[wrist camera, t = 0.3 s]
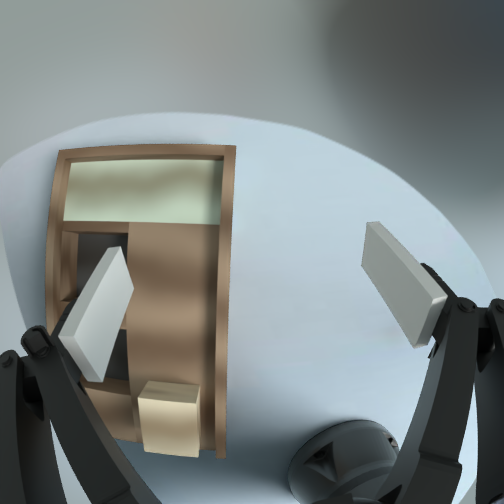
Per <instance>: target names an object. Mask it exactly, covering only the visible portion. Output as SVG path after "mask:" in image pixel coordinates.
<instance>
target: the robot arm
mask: <svg viewBox="0 0 504 504" xmlns="http://www.w3.org/2000/svg"><path fill="white" fill-rule="evenodd" d="M361 266H362V267H363V269H364V270H365V272H366V273H367V275H368V276H369V278H370V279H371V281H372V282H373V284H374V285H375V287H376V288H377V290H378V292H379V293H380V295H381V296H382V298H383V299H384V301H385V302H386V304H387V306H388V307H389V309H390V310H391V312H392V314H393V315H394V317H395V318H396V320H397V322H398V323H399V325H400V327H401V328H402V330H403V332H404V333H405V335H406V337H407V338H408V340H409V342H410V343H411V345H412V347H413V348H414V349H415V348H418V347H422V346H425V345H428V343H429V340H430V338H431V336H433V337H434V339H435V340H436V342H435V344H434V346H433V348H432V350H431V352H430V354H429V356H428V358H430V357H431V358H430V362H429V366H428V370H427V374H426V377H425V381H424V384H423V388H422V391H421V394H420V397H419V401H418V404H417V407H416V410H415V413H414V416H413V418H412V421H411V424H410V427H409V429H408V432H407V435H406V437H405V440H404V442H403V445H402V447H401V449H400V451H399V447H398V444H397V442H396V440H395V438H394V437H393V435H392V434H391V433H390V432H389V431H388V430H387V429H386V428H385V427H383V426H382V425H380V424H378V423H376V422H372V421H365V420H359V421H351V422H346V423H342V424H339V425H336V426H334V427H331V428H329V429H327V430H325V431H323V432H321V433H320V434H318V435H316V436H315V437H313V438H312V439H311V440H309V441H308V442H307V443H306V444H305V445H304V446H303V447H302V448H301V449H300V450H299V451H298V452H297V453H296V455H295V456H294V458H293V459H292V461H291V463H290V466H289V469H288V482H289V485H290V489H291V491H292V494H293V495H294V497H295V498H296V500H297V501H298V502H300V503H301V504H451V503H452V500H453V498H454V495H455V492H456V489H457V486H458V483H459V480H460V477H461V473H462V464H460V463H459V462H458V458H459V454H460V450H461V446H462V442H463V438H464V434H465V430H466V425H467V420H468V415H469V410H470V404H471V398H472V392H473V385H475V395H476V407H477V425H478V464H477V483H476V504H504V300H502V299H499V298H497V299H493V300H492V301H491V303H490V305H489V307H488V308H481V307H477V306H476V304H475V303H474V302H473V301H471V300H470V299H467V298H464V297H457V296H456V294H455V293H454V292H453V291H452V290H451V289H450V288H449V286H448V285H447V284H446V283H445V282H444V281H442V279H441V277H440V276H438V274H437V273H436V272H435V271H434V270H433V269H432V268H431V267H429V266H428V265H426V264H424V263H419V262H418V261H417V260H416V259H415V258H414V257H413V256H412V255H411V254H410V253H409V252H408V250H407V249H406V248H405V247H404V246H403V245H402V244H401V243H400V242H399V241H398V240H397V239H396V238H395V237H394V236H393V235H392V234H391V233H390V232H389V231H388V230H387V229H386V228H385V227H384V226H383V225H382V224H381V223H380V222H367V226H366V234H365V242H364V250H363V257H362V264H361ZM133 290H134V287H133V284H132V281H131V278H130V275H129V272H128V269H127V265H126V262H125V259H124V256H123V253H122V249H121V246H120V247H111V248H108V249H107V251H106V252H105V254H104V255H103V257H102V259H101V260H100V262H99V263H98V265H97V267H96V268H95V270H94V272H93V273H92V275H91V277H90V278H89V280H88V282H87V283H86V285H85V287H84V289H83V290H82V292H81V294H80V296H79V297H78V299H73V300H72V301H71V302H70V303H69V304H68V305H67V306H66V308H65V309H64V311H63V313H62V315H61V317H60V318H59V321H58V322H57V324H56V326H55V328H54V330H53V332H52V334H51V335H49V333H48V332H47V330H46V329H45V327H44V326H41V325H39V326H34V327H32V328H30V329H29V330H27V331H26V332H25V333H24V334H23V336H22V338H21V345H22V346H23V348H24V349H25V351H26V352H27V354H28V356H24V357H19V356H18V354H17V353H16V351H14V350H8V351H6V352H4V353H3V354H1V355H0V504H67V502H66V498H65V494H64V490H63V487H62V483H61V479H60V474H59V470H58V465H57V461H56V455H55V450H54V444H53V439H52V432H51V424H50V420H51V422H52V425H53V428H54V430H55V433H56V435H57V437H58V440H59V442H60V444H61V446H62V449H63V451H64V453H65V455H66V457H67V459H68V461H69V463H70V465H71V467H72V469H73V471H74V473H75V475H76V477H77V479H78V481H79V482H80V484H81V486H82V488H83V490H84V491H85V493H86V495H87V497H88V498H89V500H90V502H91V503H92V504H162V503H161V502H160V501H159V500H158V499H157V497H156V496H155V495H154V494H153V493H152V491H151V490H150V489H149V488H148V486H147V485H146V484H145V482H144V481H143V480H142V479H141V477H140V476H139V475H138V473H137V472H136V471H135V469H134V468H133V467H132V465H131V464H130V462H129V461H128V459H127V458H126V457H125V455H124V454H123V452H122V451H121V449H120V448H119V446H118V445H117V443H116V442H115V440H114V439H113V437H112V435H111V434H110V432H109V431H108V429H107V427H106V426H105V424H104V422H103V421H102V419H101V417H100V416H99V414H98V412H97V410H96V409H95V407H94V405H93V403H92V401H91V399H90V398H89V396H88V394H87V392H86V390H85V388H84V386H83V384H82V383H81V381H80V377H81V374H83V375H84V377H85V378H86V379H87V381H91V382H103V379H104V376H105V372H106V369H107V366H108V362H109V359H110V356H111V353H112V350H113V347H114V343H115V340H116V337H117V334H118V332H119V329H120V326H121V323H122V320H123V317H124V314H125V312H126V309H127V306H128V303H129V301H130V298H131V295H132V293H133Z"/></svg>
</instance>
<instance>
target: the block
mask: <svg viewBox="0 0 504 504" xmlns="http://www.w3.org/2000/svg"><path fill="white" fill-rule="evenodd" d="M138 405H139V414H140V422H141V430H142V437H143V444H144V451H146V452H152V453H160V454H168V455H177V456H188V457H198V456H199V448H200V440H201V419H200V385H190V384H177V383H166V382H156V381H148V382H147V384H146V385H145V387H144V389H143V390H142V392H141V393H140V395H139V396H138Z"/></svg>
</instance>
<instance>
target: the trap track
mask: <svg viewBox="0 0 504 504" xmlns="http://www.w3.org/2000/svg"><path fill="white" fill-rule="evenodd" d="M235 159H236V146H234V145H210V144H138V145H115V146H99V147H86V148H75V149H65V150H59V153H58V158H57V163H56V168H55V174H54V180H53V186H52V193H51V200H50V208H49V217H48V227H47V240H46V259H45V305H46V324H47V332H48V333H49V335H51V334H52V332H53V330H54V328H55V326H56V324H57V322H58V321H59V318H60V317H61V315H62V313H63V311H64V309H65V308H66V306H67V305H68V304H69V303H70V302H71V301H72V300H73V299H78V297H79V296H80V294H81V292H82V290H83V289H84V287H85V285H86V283H87V282H88V280H89V278H90V277H91V275H92V273H93V272H94V270H95V268H96V267H97V265H98V263H99V262H100V260H101V259H102V257H103V255H104V254H105V252H106V251H107V249H108V248H111V247H120V246H121V249H122V253H123V256H124V259H125V262H126V265H127V269H128V272H129V275H130V278H131V281H132V284H133V287H134V290H133V293H132V295H131V298H130V301H129V303H128V306H127V309H126V312H125V314H124V317H123V320H122V323H121V326H120V329H119V332H118V334H117V337H116V340H115V343H114V347H113V350H112V353H111V356H110V359H109V362H108V366H107V369H106V372H105V376H104V379H103V382H91V381H87V379H86V378H85V377H84V375H83V374H81V377H80V381H81V383H82V384H83V386H84V388H85V390H86V392H87V394H88V396H89V398H90V399H91V401H92V403H93V405H94V407H95V409H96V410H97V412H98V414H99V416H100V417H101V419H102V421H103V422H104V424H105V426H106V427H107V429H108V431H109V432H110V434H111V435H112V437H113V438H115V439H120V440H126V441H131V442H137V443H143V437H142V430H141V422H140V414H139V405H138V396H139V395H140V393H141V392H142V390H143V389H144V387H145V385H146V384H147V382H148V381H156V382H166V383H177V384H190V385H200V419H201V440H200V448H199V450H216V458H218V459H226V390H227V344H228V310H229V282H230V257H231V234H232V214H233V194H234V176H235Z"/></svg>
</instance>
